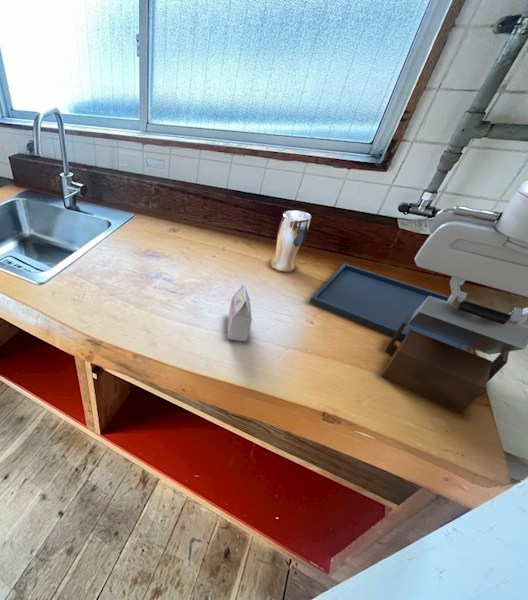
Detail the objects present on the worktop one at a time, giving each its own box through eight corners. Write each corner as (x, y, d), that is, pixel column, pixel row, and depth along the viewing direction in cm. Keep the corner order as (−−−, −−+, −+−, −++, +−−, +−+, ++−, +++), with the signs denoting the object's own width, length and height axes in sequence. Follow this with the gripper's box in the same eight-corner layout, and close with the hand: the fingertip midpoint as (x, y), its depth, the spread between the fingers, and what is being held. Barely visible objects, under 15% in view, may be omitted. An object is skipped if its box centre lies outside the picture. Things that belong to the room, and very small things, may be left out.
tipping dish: (489, 354, 57) (499, 338, 56) (535, 347, 42) (550, 325, 42) (407, 323, 64) (416, 309, 64) (422, 308, 49) (434, 289, 49)
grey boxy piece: (244, 320, 72) (253, 284, 66) (246, 341, 67) (256, 303, 61) (227, 318, 73) (235, 282, 67) (228, 339, 68) (235, 301, 62)
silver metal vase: (296, 274, 86) (313, 221, 77) (268, 270, 88) (282, 218, 79) (295, 261, 91) (311, 211, 82) (269, 258, 94) (282, 208, 85)
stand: (480, 380, 57) (509, 351, 52) (471, 419, 51) (503, 390, 47) (389, 342, 65) (407, 314, 61) (372, 372, 59) (391, 343, 55)
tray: (475, 311, 72) (480, 306, 71) (460, 364, 60) (465, 358, 59) (342, 268, 88) (344, 263, 87) (309, 302, 76) (311, 297, 75)
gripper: (437, 208, 43) (391, 293, 51) (709, 259, 31) (591, 359, 39) (446, 196, 46) (401, 277, 54) (693, 237, 34) (588, 334, 42)
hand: (482, 312), depth 46 cm, fingers closed on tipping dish, 5 cm apart
